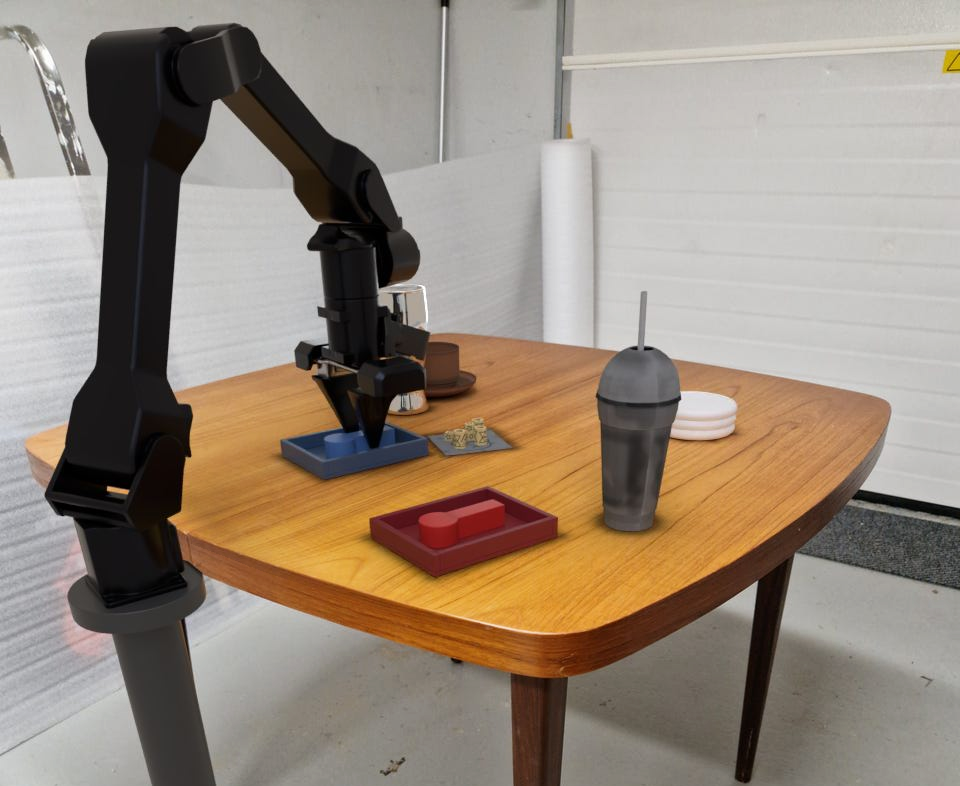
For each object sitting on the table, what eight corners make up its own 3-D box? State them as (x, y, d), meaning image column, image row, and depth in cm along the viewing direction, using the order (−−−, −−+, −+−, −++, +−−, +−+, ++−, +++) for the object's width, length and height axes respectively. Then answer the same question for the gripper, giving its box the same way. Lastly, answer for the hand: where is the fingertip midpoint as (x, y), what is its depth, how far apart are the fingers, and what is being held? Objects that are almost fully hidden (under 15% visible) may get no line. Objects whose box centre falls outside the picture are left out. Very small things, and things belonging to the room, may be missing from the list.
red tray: (434, 577, 69) (433, 555, 68) (370, 537, 76) (368, 518, 75) (557, 536, 76) (558, 516, 75) (488, 504, 83) (488, 485, 82)
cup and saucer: (424, 408, 113) (422, 360, 110) (375, 391, 122) (372, 346, 118) (493, 393, 120) (493, 347, 117) (442, 377, 128) (441, 335, 125)
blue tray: (324, 479, 89) (322, 462, 88) (281, 456, 97) (279, 439, 96) (428, 455, 96) (428, 438, 95) (381, 434, 103) (380, 418, 102)
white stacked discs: (752, 432, 102) (756, 403, 100) (689, 446, 98) (692, 416, 96) (693, 413, 109) (696, 386, 108) (633, 425, 105) (635, 397, 103)
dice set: (481, 433, 103) (481, 417, 102) (495, 445, 99) (495, 428, 98) (441, 437, 102) (441, 421, 101) (454, 449, 98) (453, 433, 97)
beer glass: (430, 416, 110) (424, 291, 103) (376, 416, 110) (367, 292, 103) (433, 402, 116) (428, 283, 109) (382, 402, 116) (374, 284, 109)
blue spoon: (383, 440, 100) (382, 423, 99) (399, 447, 97) (398, 430, 96) (320, 454, 96) (318, 437, 95) (334, 462, 93) (333, 444, 92)
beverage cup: (673, 511, 80) (698, 284, 70) (662, 541, 74) (686, 297, 64) (597, 503, 83) (610, 281, 72) (580, 532, 77) (592, 294, 67)
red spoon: (487, 517, 79) (487, 496, 78) (510, 528, 77) (510, 507, 76) (412, 539, 75) (410, 517, 74) (433, 551, 72) (432, 530, 71)
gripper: (467, 298, 86) (469, 449, 94) (372, 279, 99) (381, 413, 107) (371, 310, 80) (383, 470, 88) (284, 288, 93) (301, 429, 101)
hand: (363, 443), depth 96 cm, fingers open, 4 cm apart
